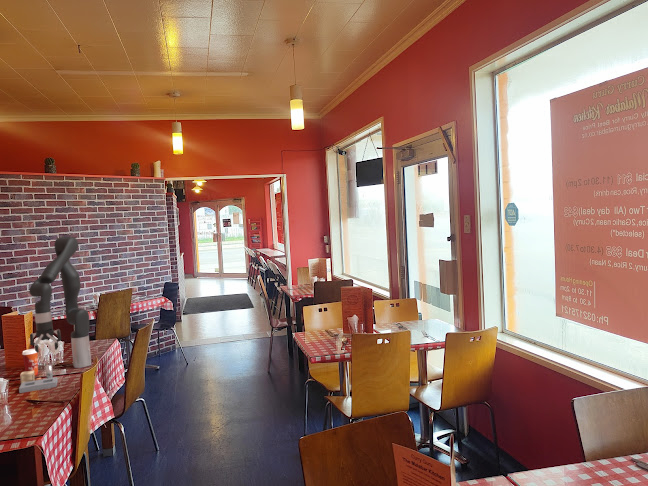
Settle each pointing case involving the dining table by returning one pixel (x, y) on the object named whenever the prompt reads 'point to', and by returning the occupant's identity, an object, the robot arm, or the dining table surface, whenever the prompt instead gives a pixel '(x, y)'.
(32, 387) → the board
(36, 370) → the paper cup
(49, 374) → the peg
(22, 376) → the tan wooden cube
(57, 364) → the dining table surface
